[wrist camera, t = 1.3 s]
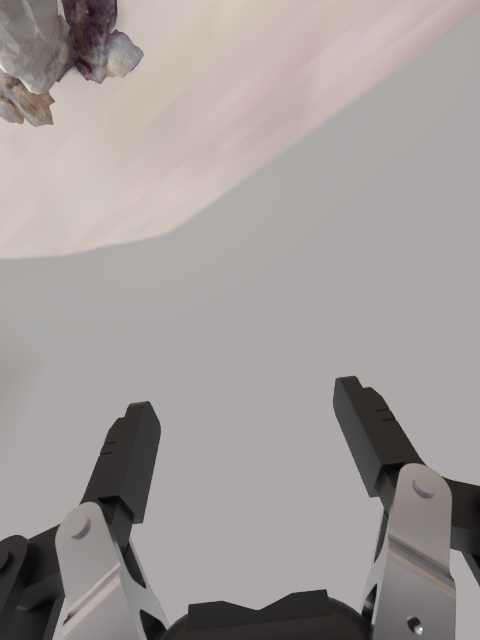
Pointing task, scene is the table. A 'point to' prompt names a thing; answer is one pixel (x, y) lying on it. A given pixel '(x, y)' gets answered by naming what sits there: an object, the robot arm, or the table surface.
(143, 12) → the table surface
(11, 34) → the grey rough lump
